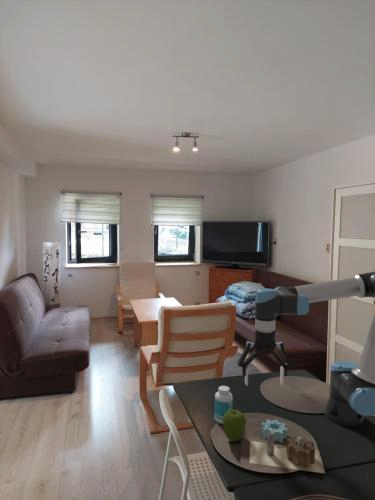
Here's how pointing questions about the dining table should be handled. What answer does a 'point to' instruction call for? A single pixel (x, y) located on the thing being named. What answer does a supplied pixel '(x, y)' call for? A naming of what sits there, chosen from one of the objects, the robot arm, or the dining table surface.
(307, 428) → the dining table surface
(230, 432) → the apple
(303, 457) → the gear
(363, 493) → the dining table surface
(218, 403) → the pill bottle
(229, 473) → the dining table surface
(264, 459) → the gear board
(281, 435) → the gear
